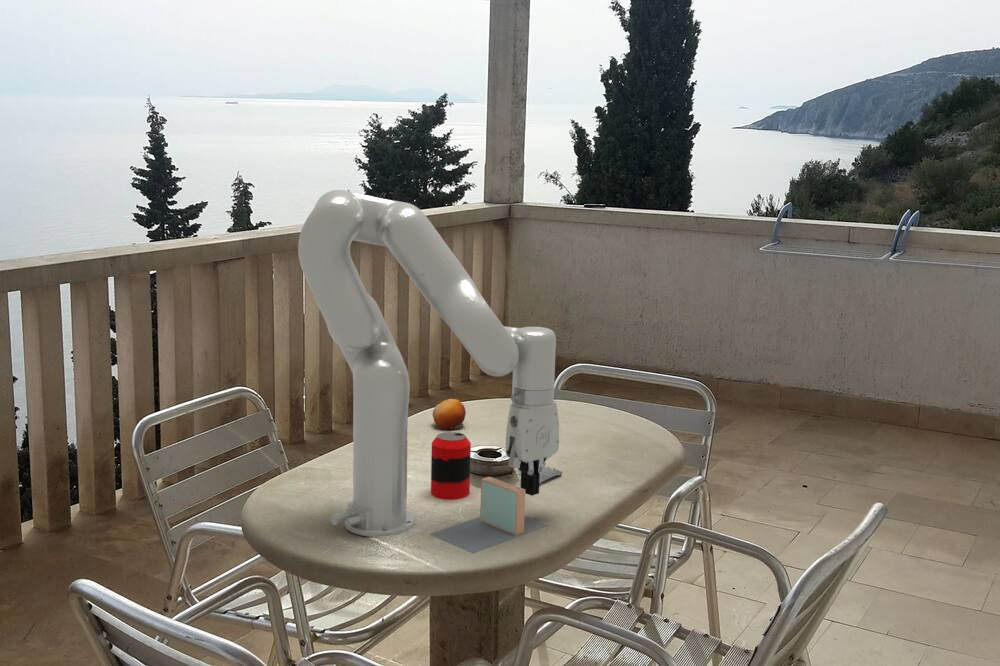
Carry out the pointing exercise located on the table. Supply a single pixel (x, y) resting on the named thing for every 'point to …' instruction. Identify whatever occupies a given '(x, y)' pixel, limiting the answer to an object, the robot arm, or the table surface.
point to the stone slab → (544, 474)
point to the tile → (502, 505)
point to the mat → (481, 534)
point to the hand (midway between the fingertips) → (529, 492)
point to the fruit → (449, 414)
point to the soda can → (450, 466)
